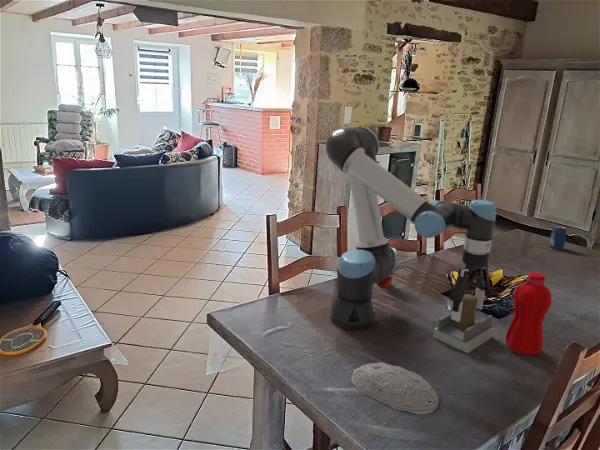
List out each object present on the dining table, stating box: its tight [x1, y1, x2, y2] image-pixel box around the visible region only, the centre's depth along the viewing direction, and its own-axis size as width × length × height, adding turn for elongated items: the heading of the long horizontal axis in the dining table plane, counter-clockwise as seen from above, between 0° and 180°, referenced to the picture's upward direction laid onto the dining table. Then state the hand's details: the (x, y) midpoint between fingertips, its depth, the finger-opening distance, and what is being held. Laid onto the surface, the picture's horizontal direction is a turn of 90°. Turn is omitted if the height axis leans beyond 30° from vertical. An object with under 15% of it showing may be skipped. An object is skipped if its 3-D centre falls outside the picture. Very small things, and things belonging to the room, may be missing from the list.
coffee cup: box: [375, 247, 398, 288], centre depth 183 cm, size 8×8×15 cm
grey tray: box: [432, 311, 495, 354], centre depth 145 cm, size 16×12×7 cm
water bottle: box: [505, 271, 552, 356], centre depth 137 cm, size 9×11×25 cm
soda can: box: [548, 224, 568, 251], centre depth 238 cm, size 7×7×12 cm
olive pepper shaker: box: [455, 293, 477, 331], centre depth 144 cm, size 6×6×11 cm
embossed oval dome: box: [350, 362, 440, 415], centre depth 119 cm, size 16×25×7 cm, turn 59°
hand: (466, 314), depth 144 cm, fingers open, 13 cm apart
